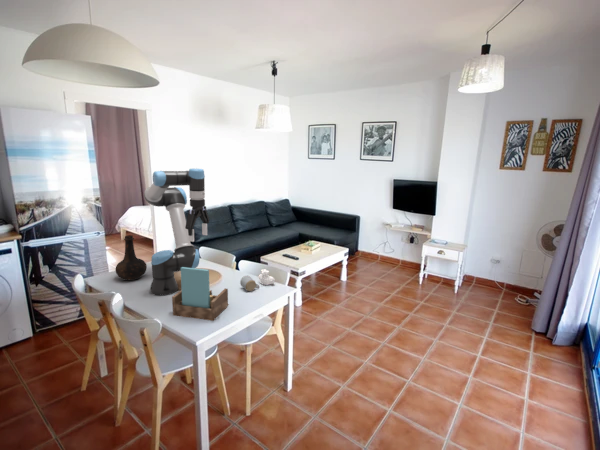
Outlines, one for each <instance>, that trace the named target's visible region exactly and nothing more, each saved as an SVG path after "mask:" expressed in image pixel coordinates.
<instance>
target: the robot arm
mask: <svg viewBox="0 0 600 450" xmlns="http://www.w3.org/2000/svg"><path fill="white" fill-rule="evenodd" d="M205 177H206V176H205V170H204V169H202V168H189V170H185V171H184V170H179V171H177V170H173V171H172V170H168V171H167V170H165V171H164V170H156V171H154V172H153V173H152V183H151V184H150V186H148V187H147V188H146V189H145V190H144V193H143V198H144V200H145V201H146V202H147V203H148V204H149V205H152V206H154V207H165V210H166V211H167V212H168V214H169V217H170V222H171V227H172V232H173V237H174V242H175V248H174V250H171V249H165V250H160V251H157V252H155V253H154V254H152V255H151V263H150V264H151V273H152V280H151V285H150V287H149V292H150V294H151V295H154V296H159V297H161V296H167V295H172V294H175V293H176V292H178V290H179V284H178V282H177V280H176V277H175V273H177V272H181V268H182V267H187V268H198V266H199V264H200V257H201V256H200V251H199V249H196V248H195V246H194V245H193V244H192V243H194V242H195V229H194V228H195V224H196V221H197V219H198V218H199V219H200V220H201V222H202V223H201V233H202V236H208V224H210V217H209V215H208V211H207V206H206V200H205V197H206V193H205V192H206V190H205V189H206V188H205V185H206V184H205ZM172 186H173V187H172ZM176 186H177V187H176ZM178 186H188V187H189V188H188V189H189V190H188V191H189V198H190V200H189V206H190V207H191V209H188V211H187V213H188V214H187V218H186V216H185V211H184V209H185V207H186V205H187V203H188V199H187V194H186V191H185V190H184V188H182V187H178ZM191 242H192V243H191Z"/></svg>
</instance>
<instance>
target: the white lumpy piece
mask: <svg viewBox="0 0 600 450" xmlns="http://www.w3.org/2000/svg"><path fill="white" fill-rule="evenodd" d="M260 272H261V273H260V274H259V275H258V278H257V279H259V282H260V283H261V284H262V285H263V286H264V285H265V286H268V285H274V284H275V280H276V279H275V277H274V276H270V275H269V273H270V270H267V269H265V268H264V269H261V270H260Z"/></svg>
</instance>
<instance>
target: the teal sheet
mask: <svg viewBox="0 0 600 450" xmlns="http://www.w3.org/2000/svg"><path fill="white" fill-rule="evenodd" d="M180 281H181V282H180V286H181V287H180V289H181V290H182V305H185V306H193V307H201V308H209V309H210V289H211V288H210V287H211V286H210V269H205V268H198V267H196V268H187V267H182V268H181V271H180Z"/></svg>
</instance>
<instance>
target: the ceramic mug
mask: <svg viewBox="0 0 600 450" xmlns="http://www.w3.org/2000/svg"><path fill="white" fill-rule="evenodd" d="M239 282H240V283H239V284H240V286H241V287H242V288H243V289H244V290H246V291H247V292H252V291H254V290H255V289H259V288H260V284H258V283H256V280H254V279H253V278H252V276H249V275H244V276H243V277H241V278H240V281H239Z"/></svg>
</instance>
